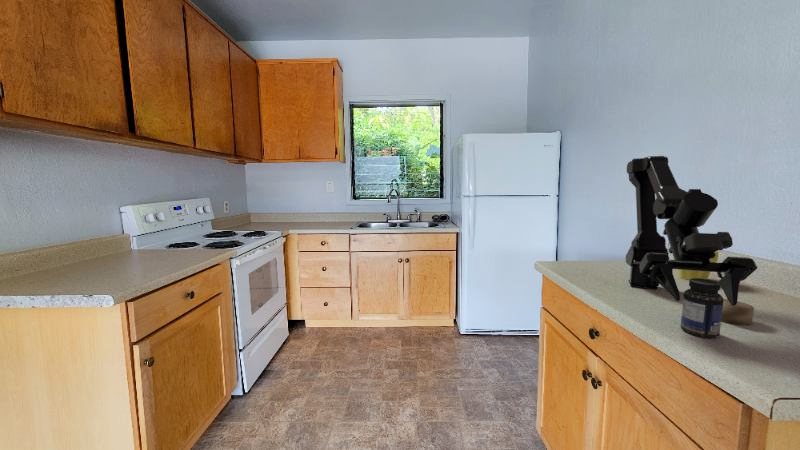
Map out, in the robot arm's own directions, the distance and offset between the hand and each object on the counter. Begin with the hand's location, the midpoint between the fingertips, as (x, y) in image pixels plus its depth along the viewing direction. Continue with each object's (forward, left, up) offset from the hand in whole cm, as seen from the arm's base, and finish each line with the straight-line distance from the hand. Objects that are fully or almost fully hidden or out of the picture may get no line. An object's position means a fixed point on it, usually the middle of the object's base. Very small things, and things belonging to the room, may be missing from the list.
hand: (705, 302), depth 67 cm
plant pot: (+9, +49, -7) cm, 50 cm away
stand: (+8, +13, -7) cm, 17 cm away
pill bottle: (0, +1, -7) cm, 7 cm away
